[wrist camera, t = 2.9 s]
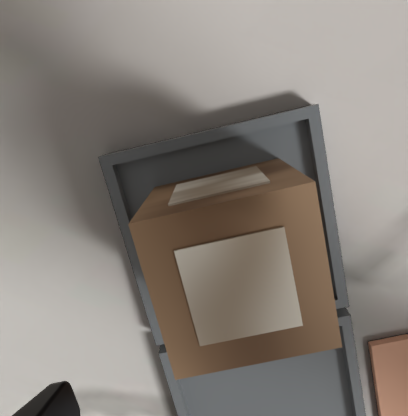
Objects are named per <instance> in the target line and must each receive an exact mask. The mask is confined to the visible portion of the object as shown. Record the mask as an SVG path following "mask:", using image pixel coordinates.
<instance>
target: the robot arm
mask: <svg viewBox="0 0 408 416" xmlns="http://www.w3.org/2000/svg"><path fill="white" fill-rule="evenodd" d="M12 416H80V408H79V405H78V403H77V400H76V397H75V395H74V392H73V390H72V387H71V385H70V383H69V382H67V381H62V382H57V383H53V384H50V385H49V386H47V387H46V388H45V389H44V390H43V391H41V392H40V393H39V394H38V395H37V396H35V397H34V398H33V399H32V400H30V401H29V402H28V403H27V404H26V405H24V406H23V407H22V408H21V409H20V410H18V411H17V412H16V413H15V414H13V415H12Z"/></svg>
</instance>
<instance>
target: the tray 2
mask: <svg viewBox="0 0 408 416" xmlns="http://www.w3.org/2000/svg"><path fill="white" fill-rule="evenodd" d="M336 311H337V317H338V323H339V330H340V336H341V342H342V347H341V348H336V349H331V350H326V351H321V352H316V353H311V354H306V355H301V356H295V357H290V358H285V359H280V360H275V361H270V362H265V363H260V364H255V365H249V366H244V367H239V368H234V369H229V370H224V371H219V372H214V373H209V374H204V375H198V376H193V377H188V378H183V379H178V380H175V378H174V374H173V371H172V368H171V364H170V361H169V358H168V354H167V351H166V348H165V344H162V345H160V350H159V356H160V359H161V363H162V366H163V369H164V372H165V376H166V379H167V382H168V385H169V389H170V392H171V395H172V398H173V402H174V405H175V408H176V411H177V415H178V416H366V413H365V406H364V400H363V393H362V387H361V380H360V374H359V367H358V361H357V354H356V347H355V341H354V334H353V328H352V321H351V315H350V314H349V312H348V311H347V309H346V308H345V307H344V308H339V309H336Z"/></svg>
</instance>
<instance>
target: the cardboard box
mask: <svg viewBox="0 0 408 416" xmlns="http://www.w3.org/2000/svg"><path fill="white" fill-rule="evenodd" d="M128 225H129V228H130V231H131V235H132V238H133V241H134V245H135V248H136V251H137V255H138V258H139V261H140V265H141V268H142V271H143V275H144V278H145V281H146V285H147V288H148V291H149V295H150V298H151V301H152V304H153V308H154V311H155V314H156V318H157V321H158V324H159V328H160V331H161V334H162V338H163V341H164V344H165V348H166V351H167V354H168V358H169V361H170V364H171V368H172V371H173V374H174V378H175V380H178V379H183V378H188V377H193V376H198V375H204V374H209V373H214V372H219V371H224V370H229V369H234V368H239V367H244V366H249V365H255V364H260V363H265V362H270V361H275V360H280V359H285V358H290V357H295V356H301V355H306V354H311V353H316V352H321V351H326V350H331V349H336V348H341V347H342V342H341V336H340V330H339V323H338V317H337V311H336V305H335V299H334V293H333V287H332V280H331V274H330V268H329V262H328V256H327V250H326V244H325V237H324V231H323V225H322V219H321V213H320V207H319V201H318V194H317V188H316V182H315V181H314V180H312V179H311V178H309V177H307V176H306V175H304V174H303V173H301V172H300V171H298V170H296V169H295V168H293V167H292V166H290V165H289V164H287V163H285V162H284V161H282V160H281V159H279V158H277V159H273V160H269V161H264V162H260V163H256V164H251V165H247V166H243V167H238V168H234V169H230V170H226V171H221V172H217V173H213V174H208V175H204V176H200V177H196V178H191V179H187V180H183V181H178V182H174V183H170V184H165V185H161V186H157V187H154V188H153V190H152V191H151V193H150V194H149V196H148V197H147V198H146V200H145V201H144V203H143V204H142V205H141V207H140V208H139V210H138V211H137V212H136V214H135V215H134V217H133V218H132V219H131V221H130V222H129V224H128Z"/></svg>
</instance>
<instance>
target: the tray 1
mask: <svg viewBox="0 0 408 416" xmlns="http://www.w3.org/2000/svg"><path fill="white" fill-rule="evenodd" d="M98 158H99V161H100V164H101V168H102V171H103V174H104V177H105V181H106V184H107V187H108V190H109V194H110V197H111V200H112V203H113V207H114V210H115V213H116V216H117V220H118V223H119V226H120V229H121V233H122V236H123V239H124V242H125V246H126V249H127V252H128V255H129V259H130V262H131V265H132V268H133V272H134V275H135V278H136V281H137V285H138V288H139V291H140V294H141V298H142V301H143V304H144V307H145V311H146V314H147V317H148V320H149V324H150V327H151V330H152V333H153V337H154V340H155V343H156V346H157V345H162V344H164V341H163V338H162V334H161V331H160V328H159V324H158V321H157V318H156V314H155V311H154V308H153V304H152V301H151V298H150V295H149V291H148V288H147V285H146V281H145V278H144V275H143V271H142V268H141V265H140V261H139V258H138V255H137V251H136V248H135V245H134V241H133V238H132V235H131V231H130V228H129V225H128V224H129V222H130V221H131V219H132V218H133V217H134V215H135V214H136V212H137V211H138V210H139V208H140V207H141V205H142V204H143V203H144V201H145V200H146V198H147V197H148V196H149V194H150V193H151V191H152V190H153V188H154V187H157V186H161V185H165V184H170V183H174V182H178V181H183V180H187V179H191V178H196V177H200V176H204V175H208V174H213V173H217V172H221V171H226V170H230V169H234V168H238V167H243V166H247V165H251V164H256V163H260V162H264V161H269V160H273V159H277V158H279V159H281V160H282V161H284V162H285V163H287V164H289V165H290V166H292V167H293V168H295V169H296V170H298V171H300V172H301V173H303V174H304V175H306V176H307V177H309V178H311V179H312V180H314V181H315V182H316V188H317V194H318V201H319V207H320V213H321V219H322V225H323V231H324V237H325V244H326V250H327V256H328V262H329V268H330V274H331V280H332V287H333V293H334V299H335V305H336V309H339V308H344V307H349V302H348V295H347V288H346V282H345V275H344V269H343V262H342V256H341V249H340V243H339V236H338V229H337V223H336V216H335V210H334V203H333V197H332V190H331V184H330V177H329V170H328V164H327V157H326V151H325V144H324V138H323V131H322V125H321V118H320V111H319V105H318V104H315V105H309V106H305V107H300V108H296V109H292V110H288V111H284V112H280V113H276V114H271V115H267V116H263V117H259V118H255V119H251V120H246V121H242V122H238V123H234V124H230V125H226V126H222V127H217V128H213V129H209V130H205V131H201V132H197V133H193V134H188V135H184V136H180V137H176V138H172V139H168V140H164V141H159V142H155V143H151V144H147V145H143V146H139V147H135V148H130V149H126V150H122V151H118V152H114V153H110V154H105V155H103V156H100V157H98Z"/></svg>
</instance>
